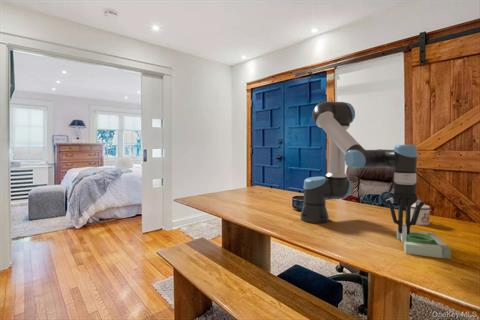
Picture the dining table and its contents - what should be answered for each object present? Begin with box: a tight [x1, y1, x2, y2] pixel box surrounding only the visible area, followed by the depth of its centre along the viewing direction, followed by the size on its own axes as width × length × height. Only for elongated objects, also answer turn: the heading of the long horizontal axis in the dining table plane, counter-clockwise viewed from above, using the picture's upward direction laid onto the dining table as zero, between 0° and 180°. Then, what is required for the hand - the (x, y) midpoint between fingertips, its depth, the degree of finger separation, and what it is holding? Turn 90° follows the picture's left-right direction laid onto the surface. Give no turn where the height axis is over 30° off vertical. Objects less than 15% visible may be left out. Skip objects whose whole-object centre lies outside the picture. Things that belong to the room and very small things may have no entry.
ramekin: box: [407, 232, 433, 244], centre depth 99 cm, size 9×9×4 cm
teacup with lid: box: [410, 202, 431, 226], centre depth 131 cm, size 12×9×12 cm
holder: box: [396, 229, 452, 260], centre depth 99 cm, size 14×18×4 cm
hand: (403, 241), depth 101 cm, fingers closed
